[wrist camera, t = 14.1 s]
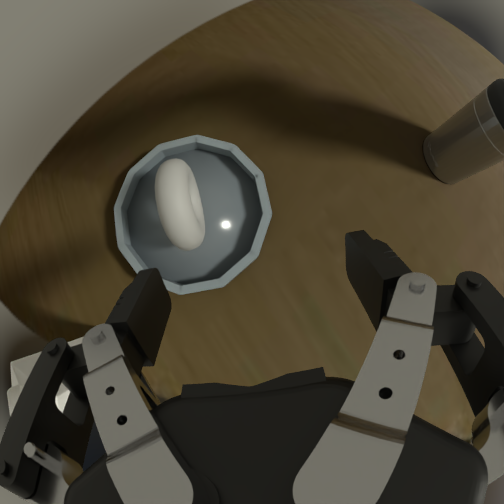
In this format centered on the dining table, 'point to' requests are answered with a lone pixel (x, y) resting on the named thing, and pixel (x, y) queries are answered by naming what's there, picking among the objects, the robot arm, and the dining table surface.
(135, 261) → the bowl
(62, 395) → the milk
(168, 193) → the donut
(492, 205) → the dining table surface
